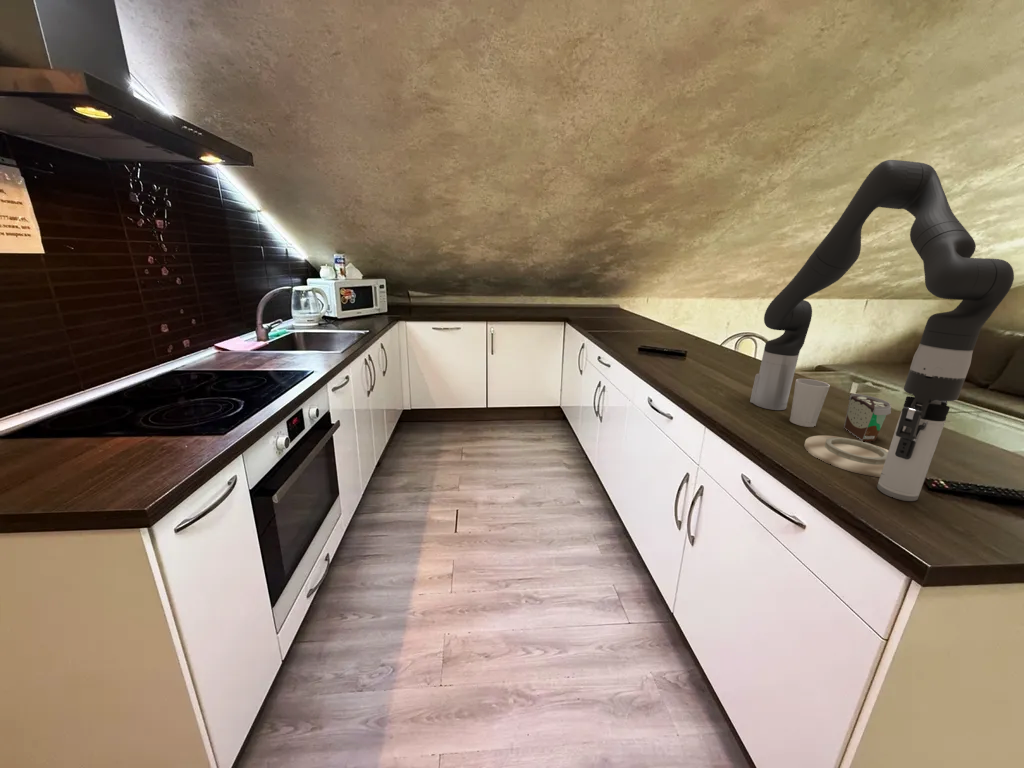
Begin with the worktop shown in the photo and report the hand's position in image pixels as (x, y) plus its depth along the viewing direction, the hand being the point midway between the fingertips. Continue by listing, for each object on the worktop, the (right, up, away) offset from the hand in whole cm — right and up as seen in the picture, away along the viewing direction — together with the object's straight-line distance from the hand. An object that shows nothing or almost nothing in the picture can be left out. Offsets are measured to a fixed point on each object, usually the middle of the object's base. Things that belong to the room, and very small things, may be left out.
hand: (909, 453), depth 84 cm
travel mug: (0, -9, +3) cm, 9 cm away
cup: (+6, +2, +40) cm, 40 cm away
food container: (+17, -1, +32) cm, 36 cm away
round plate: (+4, -4, +18) cm, 19 cm away
